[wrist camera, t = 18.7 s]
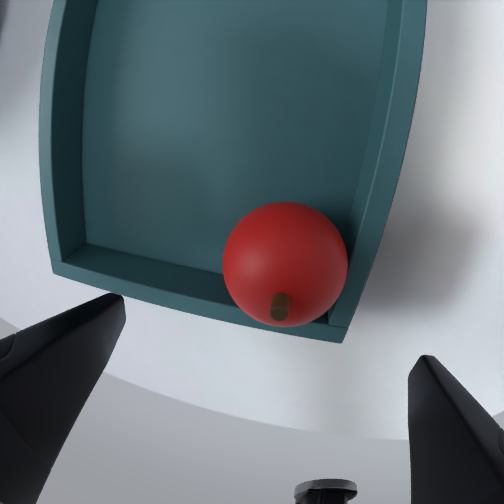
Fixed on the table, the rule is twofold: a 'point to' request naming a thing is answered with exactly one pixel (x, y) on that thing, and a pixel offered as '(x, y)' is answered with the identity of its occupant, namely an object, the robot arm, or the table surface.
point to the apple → (285, 264)
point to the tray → (220, 137)
